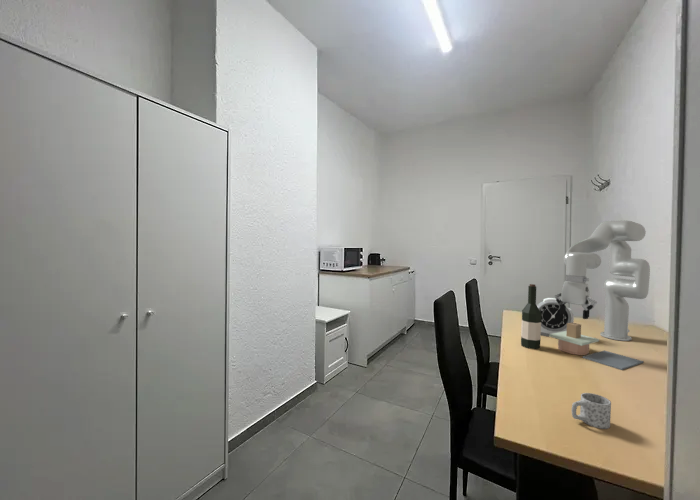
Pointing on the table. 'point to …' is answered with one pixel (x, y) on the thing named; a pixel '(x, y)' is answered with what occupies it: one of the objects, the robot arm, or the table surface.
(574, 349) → the bowl
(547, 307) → the alarm clock
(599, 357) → the mat
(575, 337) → the lid
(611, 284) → the robot arm
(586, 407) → the mug
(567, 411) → the table surface
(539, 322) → the wine bottle
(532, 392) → the table surface
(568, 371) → the table surface
